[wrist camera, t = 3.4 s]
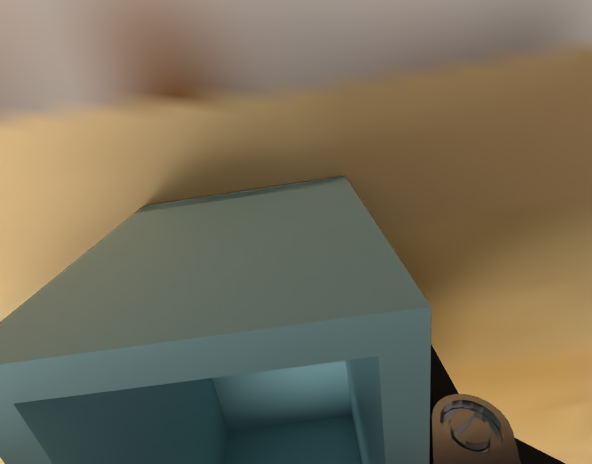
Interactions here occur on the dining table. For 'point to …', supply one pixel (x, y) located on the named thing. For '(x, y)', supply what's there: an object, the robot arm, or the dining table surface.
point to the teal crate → (224, 340)
